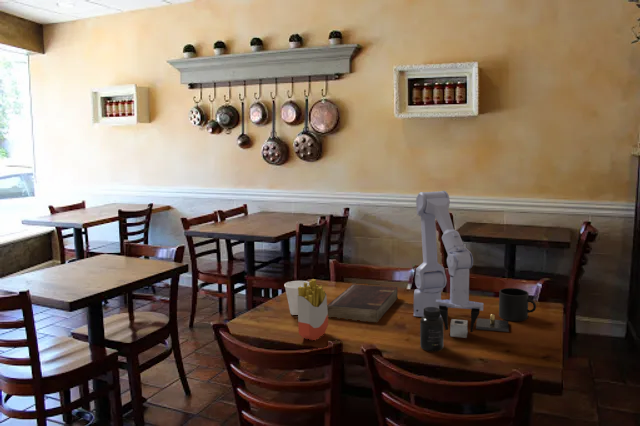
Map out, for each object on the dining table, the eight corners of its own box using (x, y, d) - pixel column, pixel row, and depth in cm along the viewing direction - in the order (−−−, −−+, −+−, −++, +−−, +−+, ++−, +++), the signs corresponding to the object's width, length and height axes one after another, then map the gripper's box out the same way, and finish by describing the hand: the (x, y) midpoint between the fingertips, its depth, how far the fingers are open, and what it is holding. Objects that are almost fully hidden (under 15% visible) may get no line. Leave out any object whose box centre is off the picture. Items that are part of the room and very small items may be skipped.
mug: (533, 324, 174) (534, 298, 172) (496, 319, 180) (496, 293, 178) (537, 316, 182) (538, 290, 180) (502, 311, 188) (502, 286, 186)
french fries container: (329, 332, 171) (327, 279, 168) (310, 344, 162) (309, 287, 159) (317, 330, 173) (316, 277, 171) (298, 341, 164) (296, 285, 162)
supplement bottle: (417, 343, 160) (417, 306, 158) (439, 342, 160) (439, 304, 159) (423, 352, 153) (423, 313, 151) (446, 351, 154) (446, 312, 152)
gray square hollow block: (450, 336, 165) (450, 324, 165) (451, 330, 170) (451, 319, 169) (466, 337, 164) (466, 325, 163) (467, 332, 168) (467, 320, 168)
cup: (280, 316, 188) (279, 286, 186) (292, 308, 197) (291, 279, 196) (305, 319, 184) (304, 289, 183) (316, 310, 193) (315, 281, 192)
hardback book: (352, 295, 213) (352, 283, 212) (397, 299, 206) (397, 287, 205) (326, 318, 186) (325, 304, 186) (376, 324, 179) (376, 310, 179)
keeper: (476, 329, 171) (476, 317, 170) (477, 321, 178) (477, 309, 178) (508, 332, 168) (508, 320, 167) (508, 323, 175) (508, 312, 174)
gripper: (434, 290, 163) (434, 332, 165) (483, 293, 159) (482, 336, 160) (437, 284, 170) (436, 324, 172) (483, 287, 165) (483, 328, 167)
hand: (459, 330), depth 167 cm, fingers open, 7 cm apart
